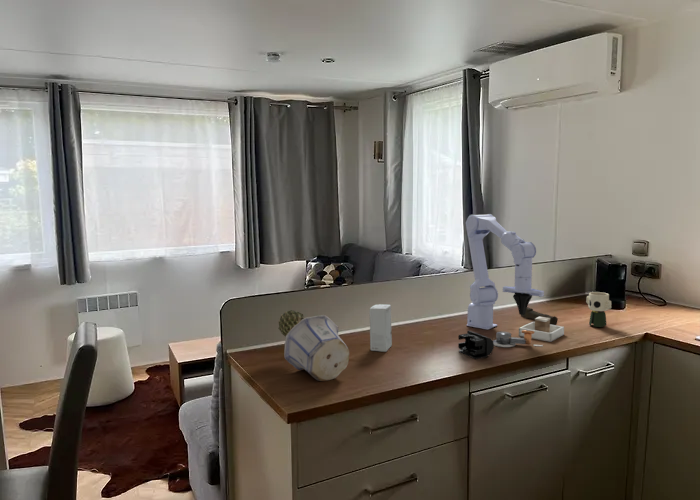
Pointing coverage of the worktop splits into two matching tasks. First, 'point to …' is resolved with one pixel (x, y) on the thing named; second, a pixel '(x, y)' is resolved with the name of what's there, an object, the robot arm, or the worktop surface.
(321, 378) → the potted plant
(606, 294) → the character mug
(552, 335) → the tray
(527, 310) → the hand tool
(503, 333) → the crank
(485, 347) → the end cap
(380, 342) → the skincare box
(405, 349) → the worktop surface
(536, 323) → the block
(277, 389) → the worktop surface
